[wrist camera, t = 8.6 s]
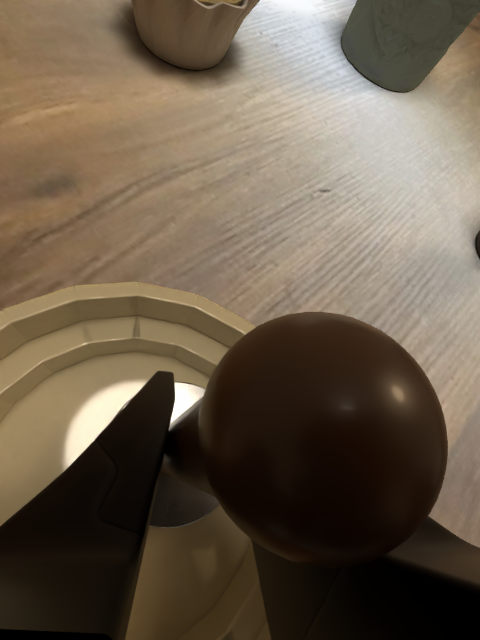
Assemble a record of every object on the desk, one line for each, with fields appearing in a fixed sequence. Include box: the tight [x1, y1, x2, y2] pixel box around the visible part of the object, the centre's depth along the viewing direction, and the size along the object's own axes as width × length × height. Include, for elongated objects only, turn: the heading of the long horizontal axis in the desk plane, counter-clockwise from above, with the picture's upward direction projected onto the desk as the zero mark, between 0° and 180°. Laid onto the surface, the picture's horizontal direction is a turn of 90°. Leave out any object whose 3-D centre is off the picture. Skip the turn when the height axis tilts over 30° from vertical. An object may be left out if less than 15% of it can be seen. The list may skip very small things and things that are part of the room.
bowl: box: [0, 282, 271, 640], centre depth 12 cm, size 14×14×4 cm
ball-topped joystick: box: [114, 312, 448, 568], centre depth 8 cm, size 5×5×14 cm
